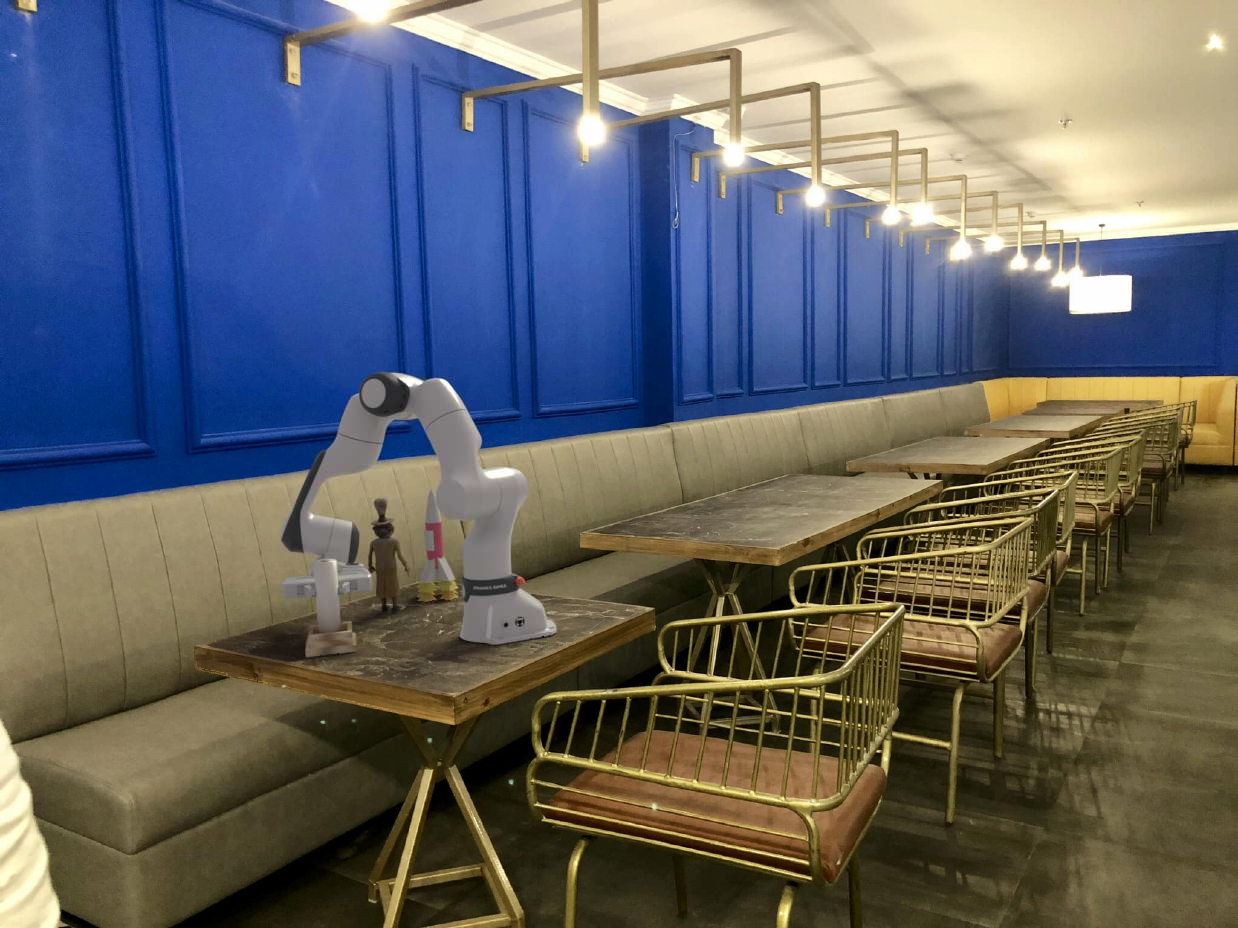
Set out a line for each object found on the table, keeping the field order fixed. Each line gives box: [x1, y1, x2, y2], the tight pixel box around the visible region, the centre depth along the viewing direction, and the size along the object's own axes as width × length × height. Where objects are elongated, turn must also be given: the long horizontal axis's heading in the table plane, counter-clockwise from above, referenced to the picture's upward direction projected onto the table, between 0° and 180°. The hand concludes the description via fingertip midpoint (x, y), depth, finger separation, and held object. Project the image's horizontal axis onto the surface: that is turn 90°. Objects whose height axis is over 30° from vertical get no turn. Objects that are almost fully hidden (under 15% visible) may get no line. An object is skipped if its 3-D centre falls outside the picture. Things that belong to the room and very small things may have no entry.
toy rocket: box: [416, 488, 459, 603], centre depth 271 cm, size 12×12×30 cm
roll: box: [313, 559, 341, 633], centre depth 225 cm, size 5×5×16 cm
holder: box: [304, 620, 358, 658], centre depth 226 cm, size 11×11×4 cm
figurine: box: [367, 497, 411, 614], centre depth 258 cm, size 11×9×30 cm
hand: (327, 592), depth 224 cm, fingers closed on roll, 5 cm apart
